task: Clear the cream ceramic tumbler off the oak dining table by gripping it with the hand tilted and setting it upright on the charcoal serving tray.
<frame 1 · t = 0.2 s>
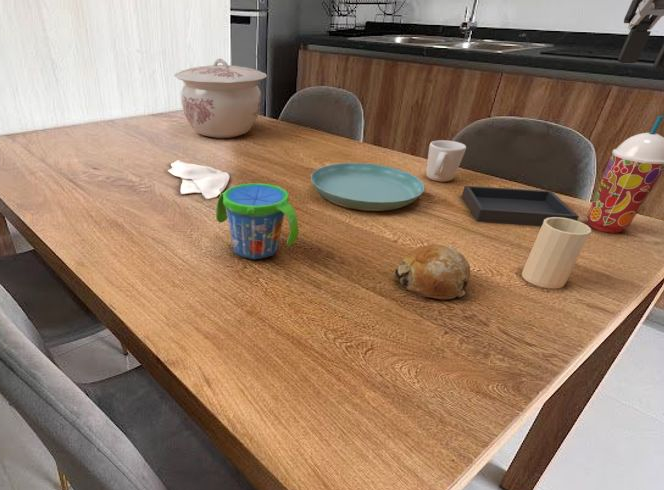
hand: (643, 66, 58), 29 cm above the table, tool pointing down, fingers open, 8 cm apart
smoothie: (603, 228, 87), on the table
cloth: (201, 180, 107), on the table
snack cup: (254, 251, 78), on the table
tray: (513, 211, 93), on the table
bread roll: (428, 285, 69), on the table
cup: (437, 181, 108), on the table
tumbler: (542, 278, 71), on the table
chamber pot: (222, 133, 143), on the table
teal plate: (364, 195, 100), on the table
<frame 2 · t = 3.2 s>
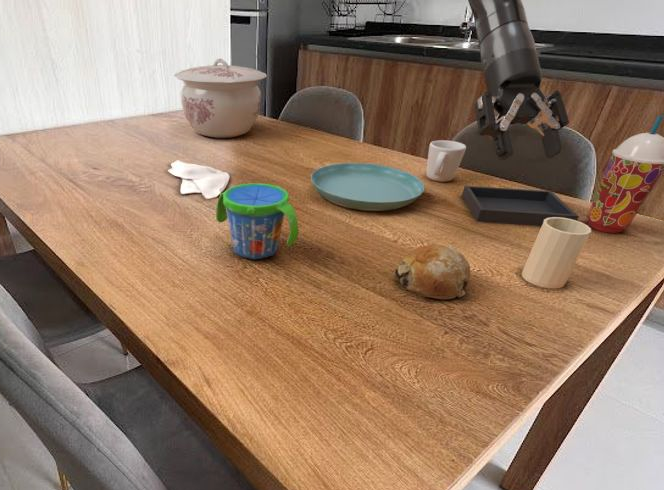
hand: (530, 156, 70), 16 cm above the table, tool tilted 45°, fingers open, 8 cm apart
nothing on the table moved.
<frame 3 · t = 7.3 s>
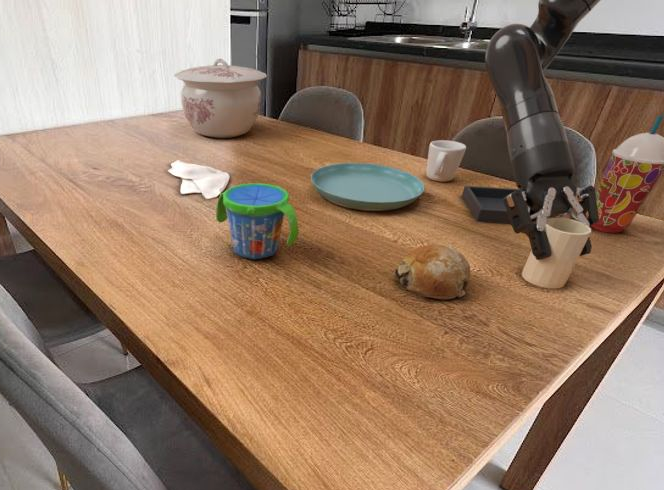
hand: (563, 256, 66), 5 cm above the table, tool tilted 45°, fingers closed on tumbler, 6 cm apart
tumbler: (542, 278, 71), on the table, touching gripper
everything else where it was.
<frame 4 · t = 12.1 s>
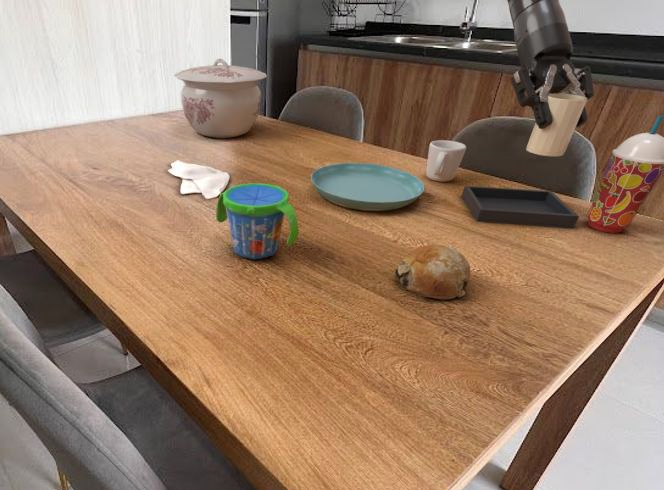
hand: (563, 125, 76), 18 cm above the table, tool tilted 45°, fingers closed on tumbler, 6 cm apart
tumbler: (544, 151, 81), point 14 cm above the table, touching gripper
everything else where it was.
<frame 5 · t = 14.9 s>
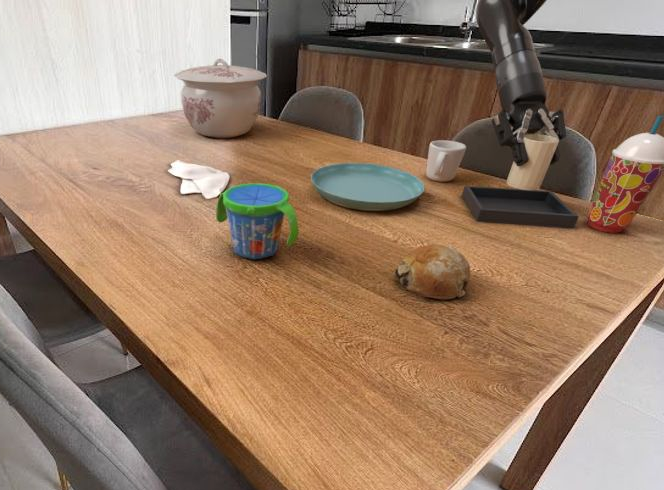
hand: (538, 163, 85), 10 cm above the table, tool tilted 45°, fingers closed on tumbler, 6 cm apart
tumbler: (522, 185, 89), point 6 cm above the table, touching gripper
everything else where it was.
when the fingers open (5 cm above the table, at t = 16.9 s): tumbler stays where it is, resting on tray.
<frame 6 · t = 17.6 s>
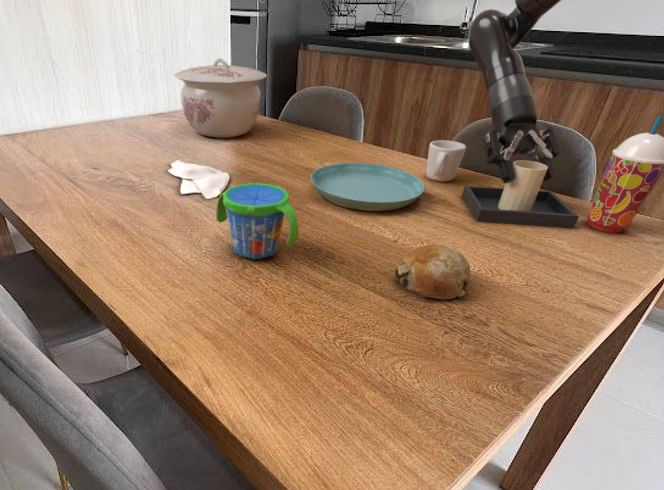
hand: (528, 180, 88), 7 cm above the table, tool tilted 45°, fingers open, 8 cm apart
tumbler: (513, 208, 92), resting on tray
everything else where it was.
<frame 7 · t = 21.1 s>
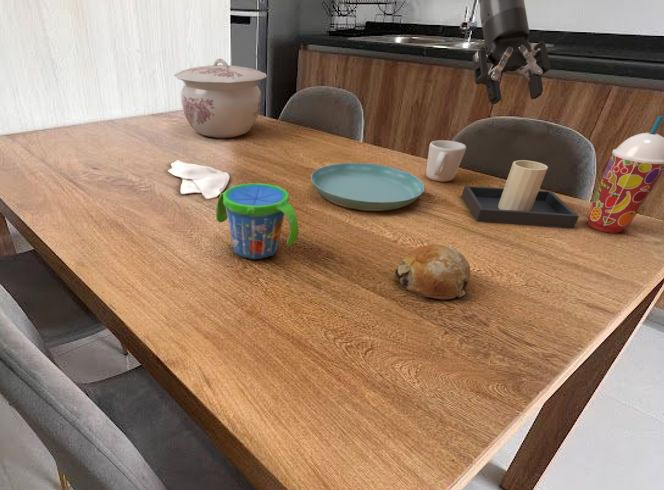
hand: (516, 99, 88), 20 cm above the table, tool tilted 35°, fingers open, 8 cm apart
nothing on the table moved.
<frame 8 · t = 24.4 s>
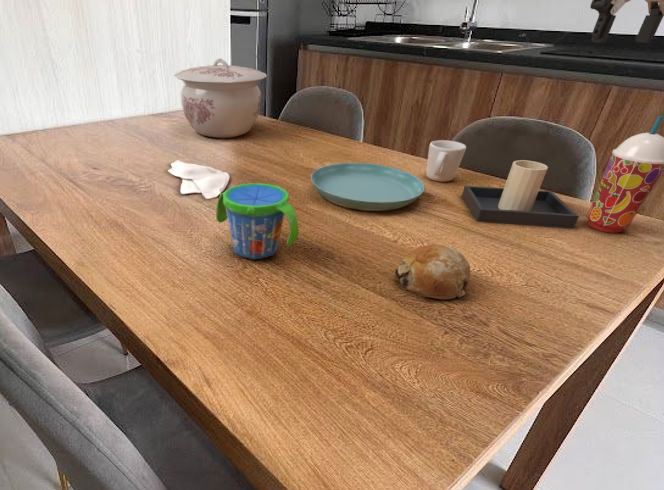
hand: (620, 42, 73), 30 cm above the table, tool pointing down, fingers open, 8 cm apart
nothing on the table moved.
at the end: tumbler inside the target area in the tray (0.1 cm from its centre), point 0.5 cm above the tray's base; tumbler tilted 0°; the gripper is holding nothing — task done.
